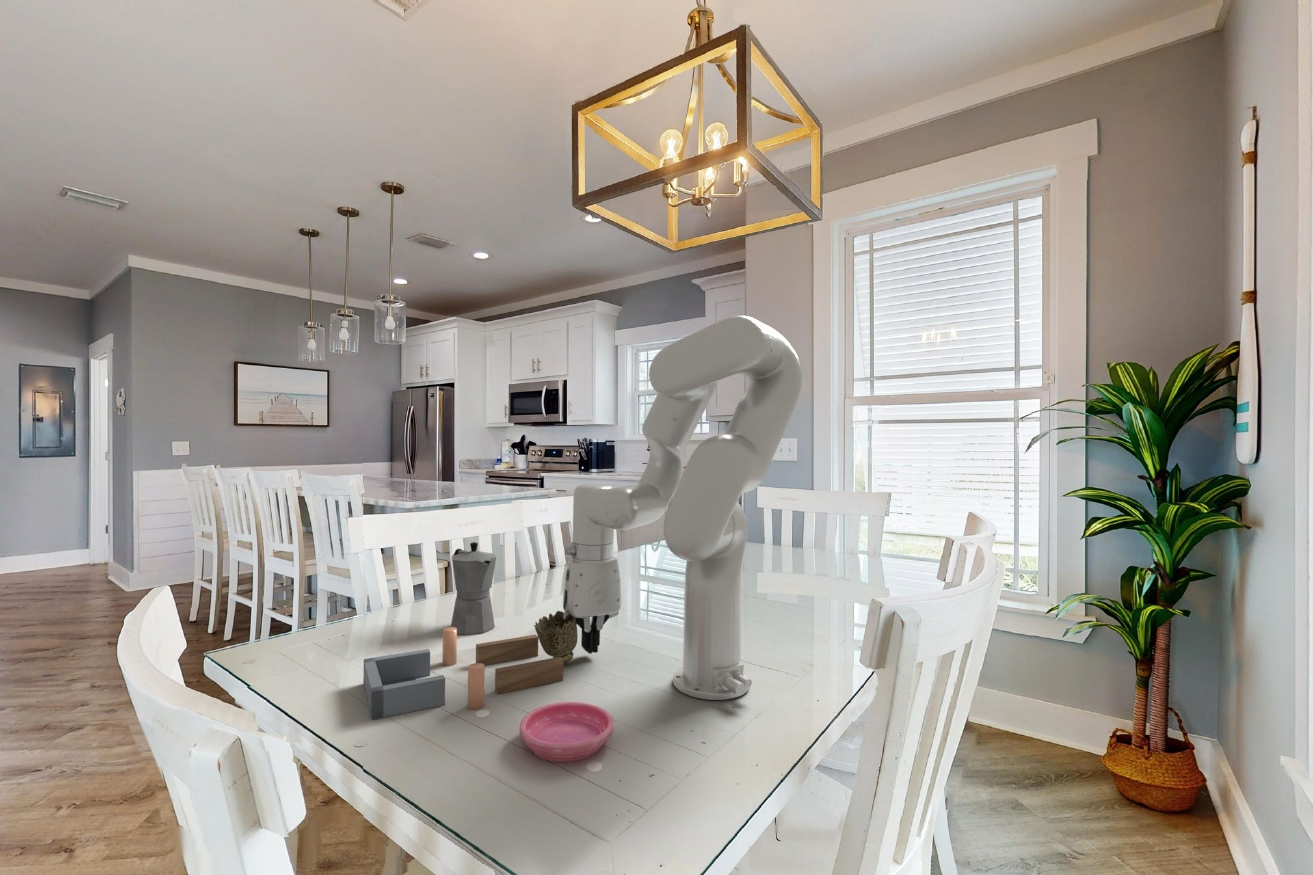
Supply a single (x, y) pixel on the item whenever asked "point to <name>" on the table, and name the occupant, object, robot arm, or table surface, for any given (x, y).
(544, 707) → the pink bowl
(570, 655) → the cup
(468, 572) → the coffeepot
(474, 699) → the goal posts
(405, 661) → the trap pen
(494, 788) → the table surface
